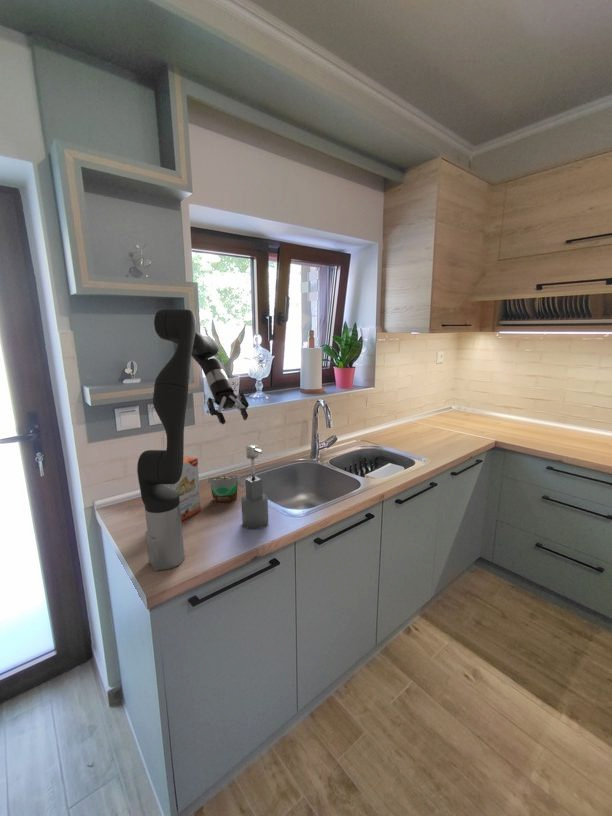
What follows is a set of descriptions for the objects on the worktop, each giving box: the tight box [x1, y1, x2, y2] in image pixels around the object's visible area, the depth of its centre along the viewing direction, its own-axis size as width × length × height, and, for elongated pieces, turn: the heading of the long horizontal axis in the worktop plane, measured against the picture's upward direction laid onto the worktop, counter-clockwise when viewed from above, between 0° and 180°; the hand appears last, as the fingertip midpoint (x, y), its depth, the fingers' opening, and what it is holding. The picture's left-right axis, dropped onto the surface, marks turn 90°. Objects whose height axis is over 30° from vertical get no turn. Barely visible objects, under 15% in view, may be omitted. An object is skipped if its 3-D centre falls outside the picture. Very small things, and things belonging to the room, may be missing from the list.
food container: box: [207, 474, 241, 505], centre depth 142 cm, size 12×6×10 cm, turn 106°
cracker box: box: [164, 455, 201, 522], centre depth 129 cm, size 14×6×21 cm, turn 151°
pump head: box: [245, 444, 263, 480], centre depth 121 cm, size 4×7×12 cm, turn 40°
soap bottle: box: [240, 475, 269, 530], centre depth 125 cm, size 9×9×16 cm
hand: (235, 421), depth 128 cm, fingers open, 8 cm apart
